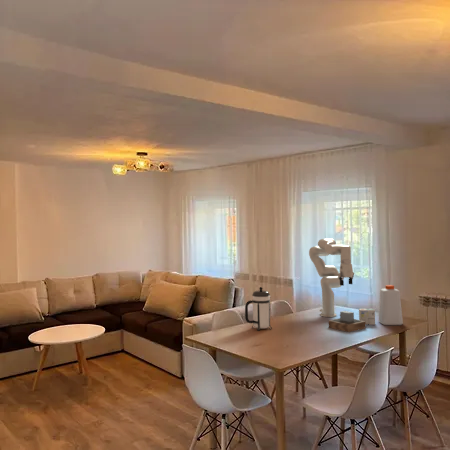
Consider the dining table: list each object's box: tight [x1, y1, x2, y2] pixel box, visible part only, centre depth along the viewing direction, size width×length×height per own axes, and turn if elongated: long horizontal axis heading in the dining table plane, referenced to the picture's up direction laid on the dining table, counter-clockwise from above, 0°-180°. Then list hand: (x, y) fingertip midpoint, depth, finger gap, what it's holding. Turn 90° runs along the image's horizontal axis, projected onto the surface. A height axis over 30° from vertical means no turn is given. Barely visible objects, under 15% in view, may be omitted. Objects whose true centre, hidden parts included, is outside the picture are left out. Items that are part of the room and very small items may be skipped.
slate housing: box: [339, 310, 355, 322], centre depth 317 cm, size 5×9×6 cm, turn 34°
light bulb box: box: [358, 308, 376, 326], centre depth 329 cm, size 11×7×11 cm, turn 84°
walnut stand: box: [328, 318, 366, 333], centre depth 317 cm, size 18×18×5 cm
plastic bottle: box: [378, 284, 404, 326], centre depth 328 cm, size 15×15×28 cm
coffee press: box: [244, 287, 273, 332], centre depth 318 cm, size 17×16×30 cm
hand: (346, 284), depth 334 cm, fingers open, 9 cm apart
